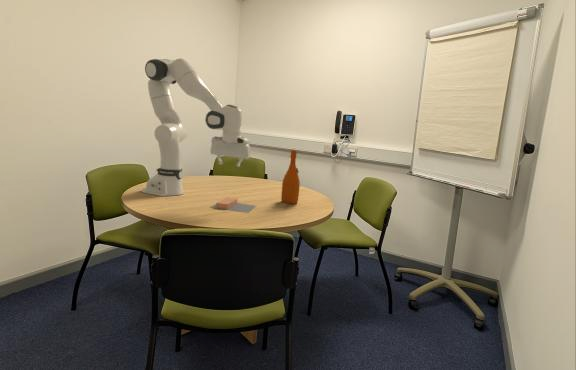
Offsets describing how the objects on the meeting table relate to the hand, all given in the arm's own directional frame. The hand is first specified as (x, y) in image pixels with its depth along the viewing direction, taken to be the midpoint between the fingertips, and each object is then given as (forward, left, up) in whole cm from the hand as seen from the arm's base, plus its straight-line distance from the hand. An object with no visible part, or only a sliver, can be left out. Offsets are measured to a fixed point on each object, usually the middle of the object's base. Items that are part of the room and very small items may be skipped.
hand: (229, 165), depth 180 cm
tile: (+1, +5, -19) cm, 20 cm away
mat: (+5, -3, -21) cm, 22 cm away
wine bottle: (+29, +23, -21) cm, 43 cm away
